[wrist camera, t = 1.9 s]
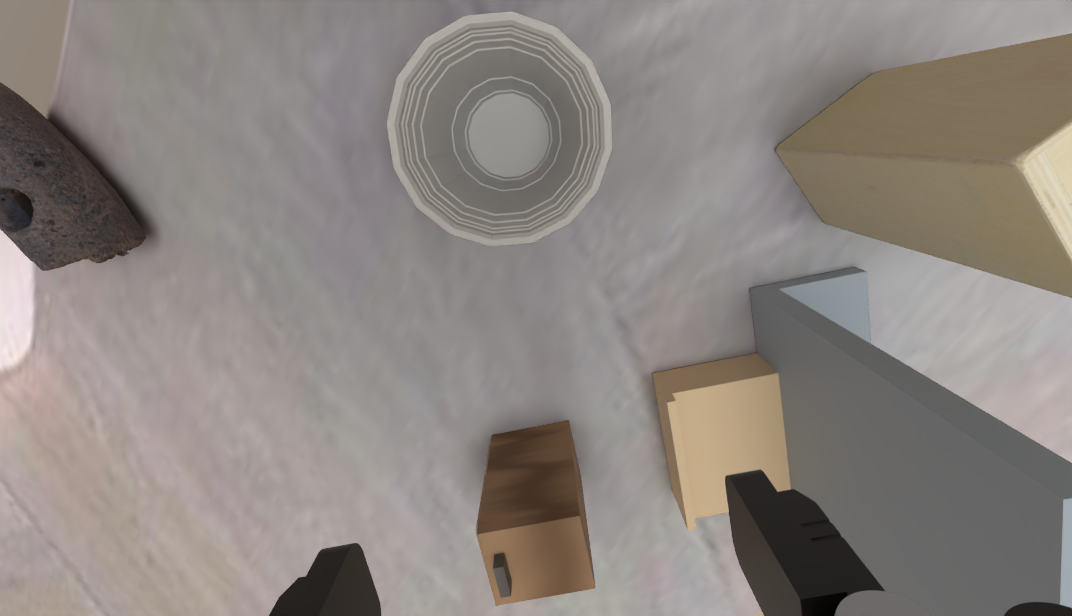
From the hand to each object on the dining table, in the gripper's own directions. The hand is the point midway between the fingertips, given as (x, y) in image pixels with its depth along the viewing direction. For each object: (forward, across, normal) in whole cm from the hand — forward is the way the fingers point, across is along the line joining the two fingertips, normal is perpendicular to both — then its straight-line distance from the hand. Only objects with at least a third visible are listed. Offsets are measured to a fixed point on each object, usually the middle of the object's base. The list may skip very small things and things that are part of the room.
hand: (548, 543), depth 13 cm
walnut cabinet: (+30, -3, -15) cm, 34 cm away
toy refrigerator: (+30, +22, +3) cm, 38 cm away
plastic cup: (+30, 0, +9) cm, 32 cm away
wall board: (+30, +15, -15) cm, 37 cm away
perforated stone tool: (+30, -30, +13) cm, 45 cm away
